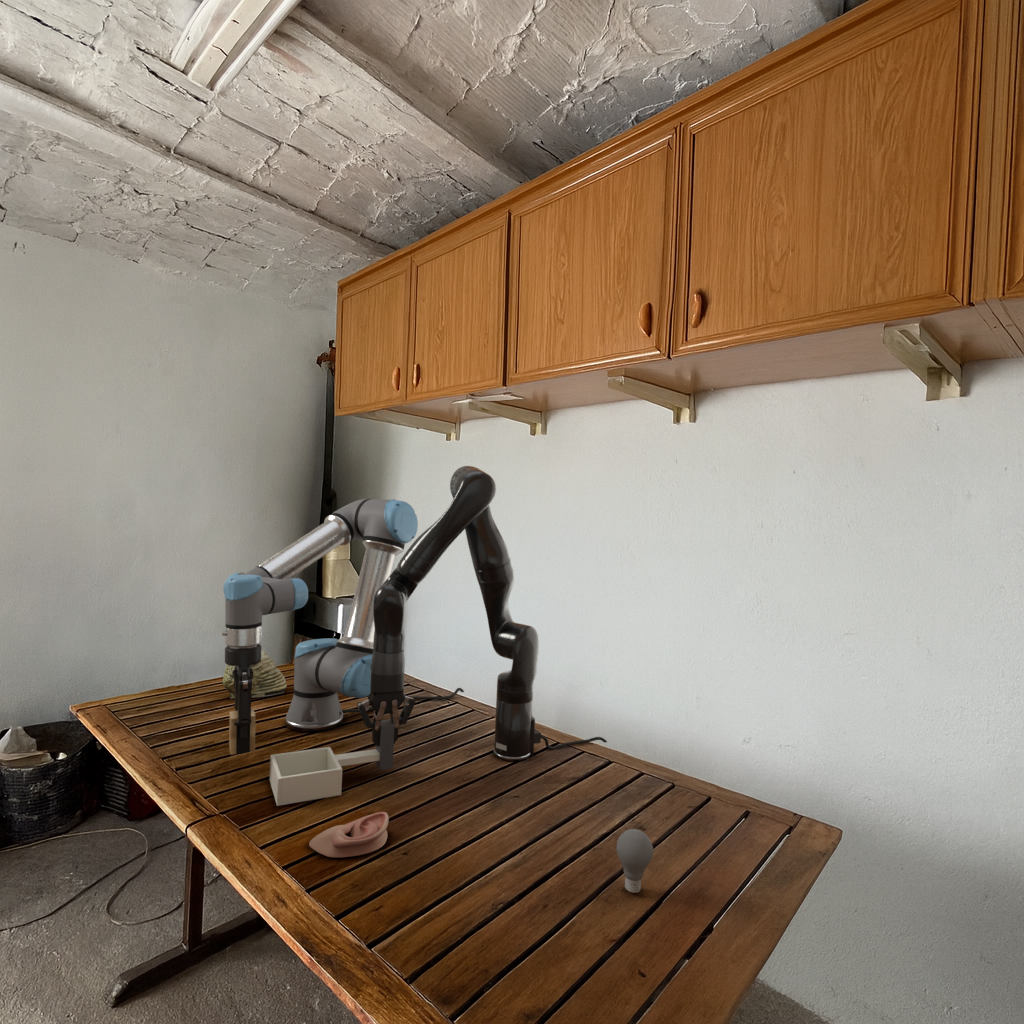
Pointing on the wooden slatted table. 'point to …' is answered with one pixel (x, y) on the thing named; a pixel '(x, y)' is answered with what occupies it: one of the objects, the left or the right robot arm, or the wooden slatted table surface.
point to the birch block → (233, 731)
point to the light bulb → (634, 857)
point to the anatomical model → (353, 837)
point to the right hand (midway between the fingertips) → (384, 743)
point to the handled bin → (323, 769)
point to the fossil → (259, 678)
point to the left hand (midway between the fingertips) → (241, 747)
